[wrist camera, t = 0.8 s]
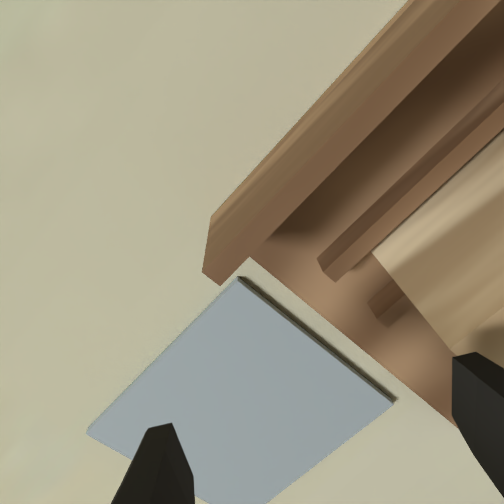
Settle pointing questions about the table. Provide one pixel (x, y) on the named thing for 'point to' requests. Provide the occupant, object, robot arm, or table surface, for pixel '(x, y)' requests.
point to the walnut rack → (372, 180)
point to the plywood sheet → (457, 256)
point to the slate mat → (244, 400)
